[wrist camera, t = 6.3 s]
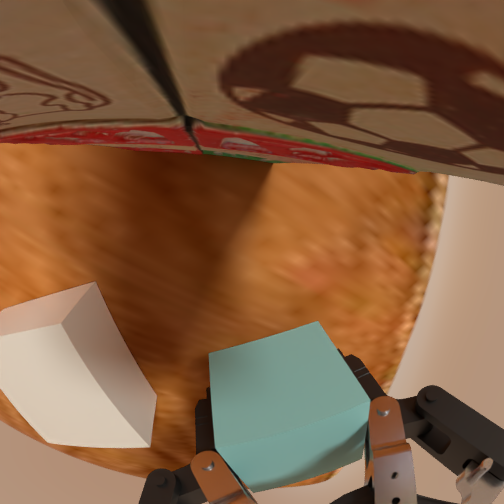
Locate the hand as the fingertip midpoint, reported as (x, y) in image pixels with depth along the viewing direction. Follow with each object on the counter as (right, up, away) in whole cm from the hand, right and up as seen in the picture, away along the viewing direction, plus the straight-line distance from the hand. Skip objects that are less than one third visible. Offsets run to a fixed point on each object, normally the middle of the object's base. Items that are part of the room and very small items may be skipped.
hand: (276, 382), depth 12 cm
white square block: (-12, 0, +1) cm, 12 cm away
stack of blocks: (-2, +20, -4) cm, 21 cm away
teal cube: (0, 0, +1) cm, 1 cm away
